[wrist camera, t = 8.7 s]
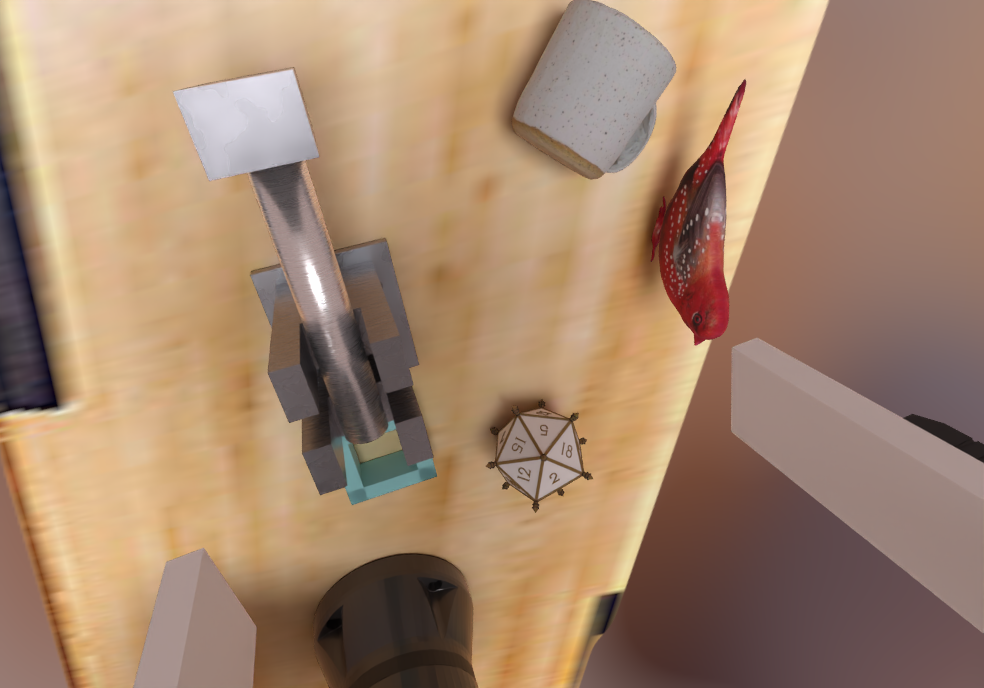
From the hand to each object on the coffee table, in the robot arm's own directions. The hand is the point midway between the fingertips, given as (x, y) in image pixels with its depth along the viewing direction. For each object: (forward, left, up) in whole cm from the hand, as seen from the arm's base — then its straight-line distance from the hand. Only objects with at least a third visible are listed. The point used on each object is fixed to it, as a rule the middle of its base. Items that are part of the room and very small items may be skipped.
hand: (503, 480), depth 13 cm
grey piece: (0, +4, -22) cm, 22 cm away
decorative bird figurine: (-4, -22, -28) cm, 36 cm away
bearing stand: (-7, +4, -28) cm, 29 cm away
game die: (-21, -8, -28) cm, 36 cm away
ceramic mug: (+4, -16, -28) cm, 33 cm away
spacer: (-14, +4, -26) cm, 30 cm away
